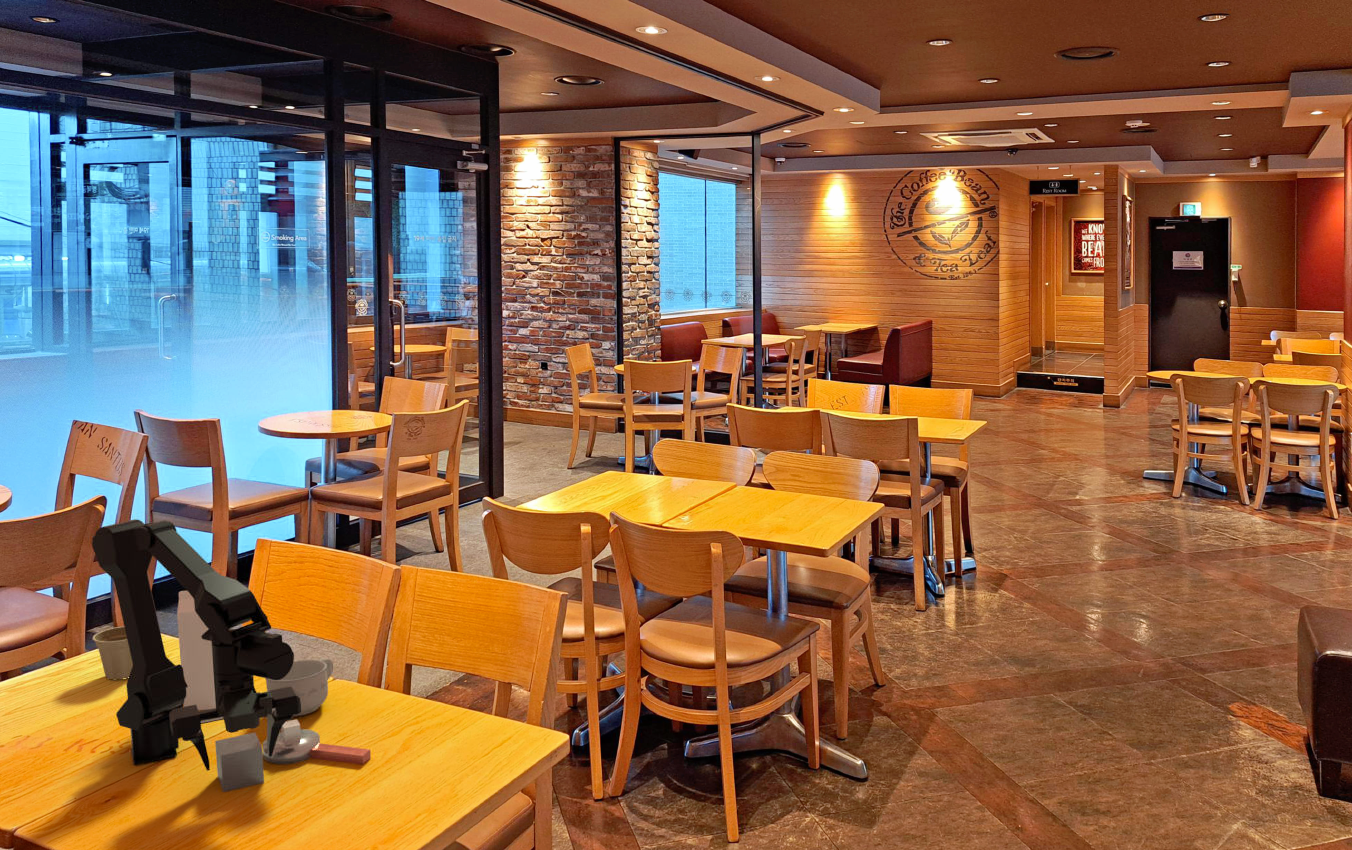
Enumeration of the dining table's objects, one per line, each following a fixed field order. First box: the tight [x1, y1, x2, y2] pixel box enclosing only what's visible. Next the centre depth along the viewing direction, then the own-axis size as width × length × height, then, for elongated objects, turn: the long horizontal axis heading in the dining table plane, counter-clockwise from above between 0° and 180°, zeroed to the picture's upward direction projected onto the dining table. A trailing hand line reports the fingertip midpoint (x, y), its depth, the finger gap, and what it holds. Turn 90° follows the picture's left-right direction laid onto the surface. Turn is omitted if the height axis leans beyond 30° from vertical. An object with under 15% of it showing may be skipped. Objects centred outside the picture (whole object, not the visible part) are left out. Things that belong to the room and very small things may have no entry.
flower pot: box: [92, 625, 133, 680], centre depth 213 cm, size 9×9×9 cm
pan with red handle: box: [262, 719, 372, 765], centre depth 178 cm, size 18×9×5 cm, turn 76°
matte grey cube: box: [214, 732, 265, 793], centre depth 170 cm, size 6×6×6 cm
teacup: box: [264, 657, 334, 717], centre depth 198 cm, size 14×11×8 cm
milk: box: [176, 590, 216, 712], centre depth 198 cm, size 6×6×22 cm
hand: (239, 762), depth 170 cm, fingers open, 9 cm apart
